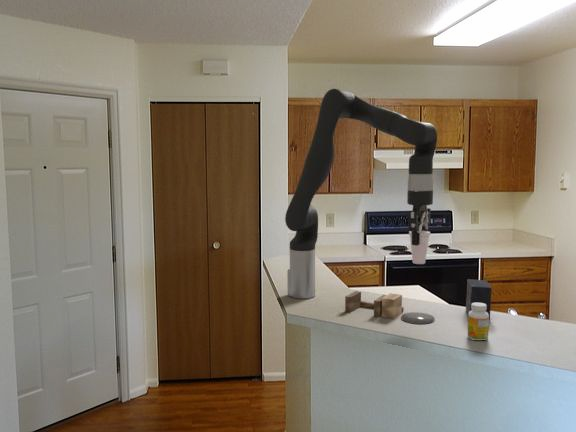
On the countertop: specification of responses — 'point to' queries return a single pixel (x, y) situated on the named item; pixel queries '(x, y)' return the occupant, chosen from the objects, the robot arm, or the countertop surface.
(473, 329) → the supplement bottle
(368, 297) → the countertop surface
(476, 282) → the small box
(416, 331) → the countertop surface
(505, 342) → the countertop surface
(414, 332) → the countertop surface
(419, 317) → the coaster
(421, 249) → the smoothie
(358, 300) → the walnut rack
